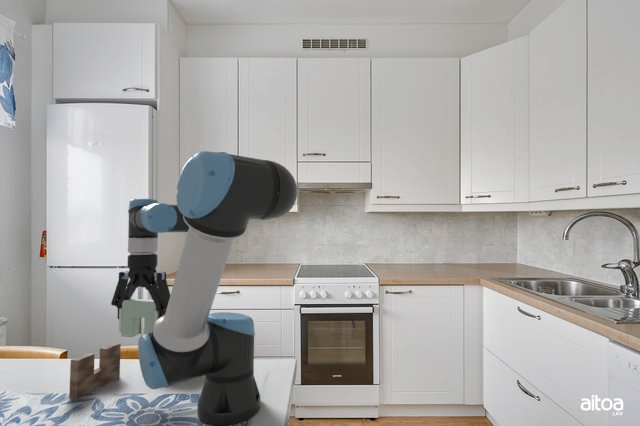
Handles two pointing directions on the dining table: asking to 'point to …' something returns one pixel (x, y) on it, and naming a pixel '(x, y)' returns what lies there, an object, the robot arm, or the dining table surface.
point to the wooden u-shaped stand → (94, 371)
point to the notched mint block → (137, 316)
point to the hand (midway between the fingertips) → (141, 332)
